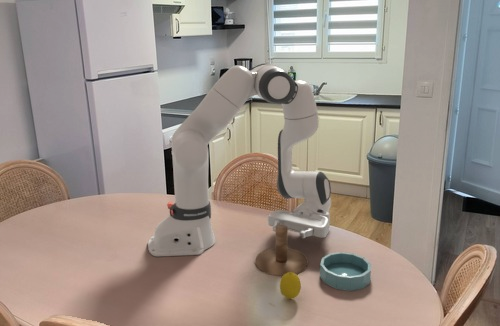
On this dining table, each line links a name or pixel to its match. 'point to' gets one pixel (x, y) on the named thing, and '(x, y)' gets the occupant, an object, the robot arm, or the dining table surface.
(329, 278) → the bowl
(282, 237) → the lid
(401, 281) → the dining table surface
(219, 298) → the dining table surface
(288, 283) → the lemon
